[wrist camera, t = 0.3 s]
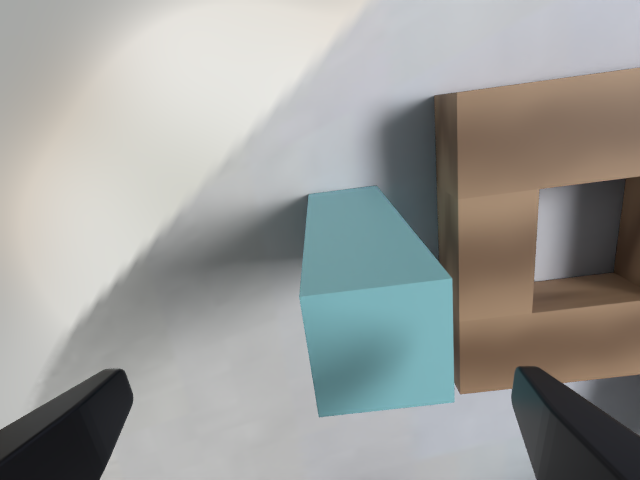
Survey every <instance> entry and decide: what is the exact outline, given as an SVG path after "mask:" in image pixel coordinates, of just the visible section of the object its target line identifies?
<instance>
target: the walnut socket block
mask: <svg viewBox="0 0 640 480" xmlns="http://www.w3.org/2000/svg"><path fill="white" fill-rule="evenodd" d="M434 106H435V140H436V174H437V208H438V243H439V263H440V264H441V265H442V266H443V268H444V269H445V270H446V271H447V273H448V274H449V275H450V276H451V278H452V290H453V347H454V383H455V385H456V387H457V389H458V391H459V393H460V394H468V393H477V392H486V391H495V390H504V389H512V387H513V380H514V373H515V369H516V368H517V367H518V366H537V367H539V368H541V369H542V370H544V371H545V372H547V373H548V374H550V375H551V376H553V377H554V378H556V379H557V380H559V381H560V382H561V383H567V382H576V381H585V380H594V379H603V378H612V377H621V376H630V375H639V374H640V68H633V69H626V70H618V71H611V72H604V73H596V74H589V75H582V76H574V77H567V78H560V79H552V80H545V81H538V82H530V83H523V84H516V85H508V86H501V87H494V88H486V89H479V90H472V91H464V92H457V93H450V94H442V95H435V96H434ZM623 178H626V182H625V189H624V197H623V205H622V212H621V220H620V227H619V235H618V242H617V250H616V257H615V265H614V272H613V273H605V274H596V275H588V276H579V277H571V278H563V279H554V280H546V281H538V282H534V271H535V254H536V238H537V221H538V204H539V189H544V188H552V187H560V186H568V185H576V184H584V183H591V182H599V181H607V180H615V179H623Z"/></svg>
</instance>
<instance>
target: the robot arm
mask: <svg viewBox="0 0 640 480" xmlns="http://www.w3.org/2000/svg"><path fill="white" fill-rule="evenodd" d="M511 399H512V405H513V409H514V412H515V415H516V418H517V421H518V424H519V427H520V431H521V434H522V437H523V440H524V443H525V446H526V449H527V452H528V455H529V458H530V461H531V464H532V467H533V470H534V473H535V476H536V479H537V480H640V436H639V435H637V434H636V433H634V432H633V431H631V430H630V429H628V428H627V427H626V426H624V425H623V424H621V423H620V422H618V421H617V420H615V419H614V418H612V417H611V416H610V415H608V414H607V413H605V412H604V411H602V410H601V409H599V408H598V407H596V406H595V405H593V404H592V403H591V402H589V401H588V400H586V399H585V398H583V397H582V396H580V395H579V394H577V393H576V392H575V391H573V390H572V389H570V388H569V387H567V386H566V385H564V384H563V383H561V382H560V381H559V380H557V379H556V378H554V377H553V376H551V375H550V374H548V373H547V372H545V371H544V370H542V369H541V368H539V367H537V366H518V367H517V368H516V369H515V373H514V380H513V387H512V395H511ZM132 404H133V393H132V390H131V387H130V384H129V381H128V378H127V375H126V373H125V371H124V370H122V369H105V370H103V371H101V372H99V373H97V374H96V375H94V376H92V377H90V378H89V379H87V380H85V381H84V382H82V383H80V384H78V385H77V386H75V387H73V388H71V389H70V390H68V391H66V392H65V393H63V394H61V395H59V396H58V397H56V398H54V399H53V400H51V401H49V402H47V403H46V404H44V405H42V406H40V407H39V408H37V409H35V410H34V411H32V412H30V413H28V414H27V415H25V416H23V417H22V418H20V419H18V420H16V421H15V422H13V423H11V424H10V425H8V426H6V427H4V428H3V429H1V430H0V480H100V478H101V476H102V474H103V472H104V470H105V467H106V465H107V463H108V461H109V459H110V456H111V454H112V452H113V449H114V447H115V445H116V442H117V440H118V437H119V435H120V433H121V430H122V428H123V426H124V423H125V421H126V419H127V416H128V414H129V411H130V409H131V407H132Z"/></svg>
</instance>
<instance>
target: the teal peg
mask: <svg viewBox="0 0 640 480" xmlns="http://www.w3.org/2000/svg"><path fill="white" fill-rule="evenodd" d="M299 298H300V304H301V310H302V316H303V323H304V329H305V335H306V341H307V347H308V353H309V359H310V365H311V372H312V378H313V384H314V390H315V396H316V402H317V408H318V414H319V417H325V416H334V415H343V414H353V413H362V412H371V411H380V410H389V409H398V408H407V407H416V406H425V405H434V404H444V403H453V402H454V347H453V290H452V278H451V276H450V275H449V274H448V273H447V271H446V270H445V269H444V268H443V266H442V265H441V264H440V263H439V262H438V260H437V259H436V258H435V257H434V255H433V254H432V253H431V252H430V251H429V249H428V248H427V247H426V246H425V244H424V243H423V242H422V241H421V239H420V238H419V237H418V236H417V235H416V233H415V232H414V231H413V230H412V228H411V227H410V226H409V225H408V224H407V222H406V221H405V220H404V219H403V217H402V216H401V215H400V214H399V212H398V211H397V210H396V209H395V208H394V206H393V205H392V204H391V203H390V201H389V200H388V199H387V198H386V197H385V195H384V194H383V193H382V192H381V190H380V189H379V188H378V187H377V185H376V186H369V187H361V188H353V189H345V190H338V191H330V192H322V193H314V194H309V196H308V207H307V218H306V229H305V240H304V251H303V262H302V273H301V284H300V295H299Z"/></svg>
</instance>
